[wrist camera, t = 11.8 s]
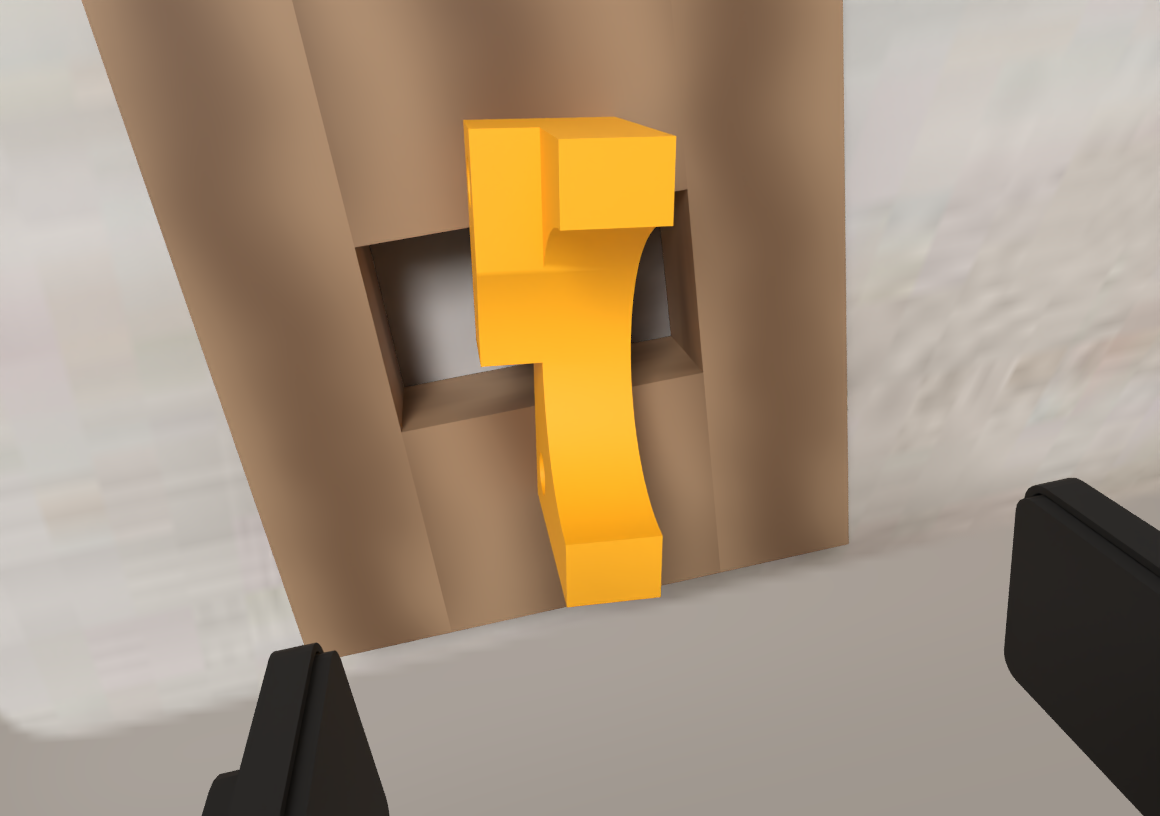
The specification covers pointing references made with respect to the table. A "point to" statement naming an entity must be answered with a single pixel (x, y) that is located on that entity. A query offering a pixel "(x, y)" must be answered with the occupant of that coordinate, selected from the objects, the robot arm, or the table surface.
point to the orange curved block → (573, 323)
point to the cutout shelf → (440, 203)
